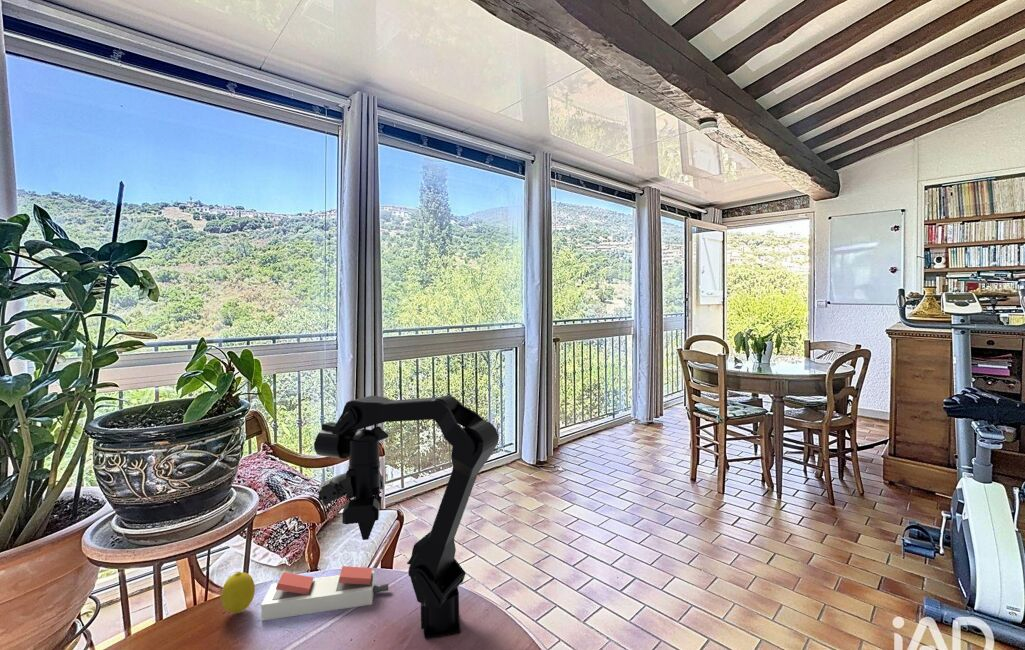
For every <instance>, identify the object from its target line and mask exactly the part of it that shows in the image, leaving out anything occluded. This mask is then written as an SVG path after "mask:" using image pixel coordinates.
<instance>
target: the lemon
mask: <svg viewBox="0 0 1025 650" xmlns="http://www.w3.org/2000/svg"><path fill="white" fill-rule="evenodd" d="M255 591H256V585H255V582H254V580H253V577H252V575H250V574H249V573H247V572H243V571H242V572H241V571H237V572H236V573H234V574H232V575H231V576H229V578H227V579H226V581H225V582H224V585H223V586H222V589H221V598H220V600H221V604H222V607H223V608H224V610H225V611H227V612H228V613H232V614H234V613H235V614H237V615H239V614H241V613H242V612H243V611H245V610H246V609H247V608H248V607H249V606H250V605H251V603H252V601H253V599H254V598H255V597H254V596H255Z"/></svg>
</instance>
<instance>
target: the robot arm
mask: <svg viewBox="0 0 1025 650" xmlns="http://www.w3.org/2000/svg"><path fill="white" fill-rule="evenodd" d="M432 420H433V421H434V422H436V424H437V425H438V427H439V429H440V431H441V434H442V436H443V438H444V439H445V440H446V441H447V442H448V443H449V444H450V445H451V446H452V447H451V453H450V457H451V458H450V459H451V463H452V470H451V473H450V476H449V478H448V479H449V480H448V481H447V484H446V487H445V490H444V493H443V496H442V499H441V501H440V505H439V507H438V510H437V512H436V513H437V514H436V515H435V519H434V521H433V524H432V527H431V530H430V531H429V532H428V533H427V534H426V535H424V536H423V537H422V538H421V539H419V540H418V541H417V542H415V543H414V544H413V547H412V552H411V556H410V558H409V560H408V561H406V562H407V563H406V565H408V571H407V572H408V577H410V581H411V584H412V588H413V590H414V595H415V597H416V601H417V602H418V603H420V629H421V630H423V638H424V639H426V640H427V639H433V638H440V637H445V636H452V635H458V634H460V633H461V632H462V628H461V621H460V592H459V586H460V585H461V584H463V582H464V580H465V576H466V571H465V570H464V568H462V566H461V565H460V563H458V561H457V560H456V558H455V556H456V551H457V549H456V544H455V538H456V534H457V532H458V530H459V526H460V523H461V521H462V518H463V516H464V513H465V510H466V507H467V505H468V501H469V499H470V497H471V493H472V491H473V488H474V485H475V483H476V480H477V477H478V475H479V472H480V471H481V470H482V468H483V467H484V466H485V464H486V463H487V462H488V460H489V459H490V457H491V456H492V454H493V453H494V451H495V449H496V447H497V445H498V444H499V439H500V434H499V433H498V431H497V428H496V427H495V426H494V424H492V423H491V422H490V421H487V420H485V419H484V418H483V417H482V416H481V415H480V414H478V413H477V412H476V411H474V410H472V409H470V408H468V407H467V406H465V405H463V404H462V403H461V402H460V401H459V400H458V399H457V398H456V397H454V396H452V395H443V396H438V397H424V398H409V399H395V400H394V399H389V398H387V397H385V396H378V395H369V396H365V397H360V398H356V399H352V400H349V401H347V402H346V403H345V405H344V407H343V411H342V413H341V415H340V416H339V418H338V420H337V422H333V421H332V422H331V421H329V422H325V423H322V424H321V430H320V431H319V432H318V434H317V435H316V438H315V441H314V442H313V447H314V452H315V453H316V454H317V455H318V456H321V457H328V458H334V459H335V458H336V459H341V460H345V459H347V458H348V469H347V470H346V472H344V473H342V474H339V475H337V476H334V477H332V478H329V479H327V480H325V481H323V482H320V484H319V486H318V488H317V490H316V491H317V494H318V498H317V500H319V501H321V503H322V505H323V506H327V505H328V504H330V503H331V502H333V501H336V500H338V499H340V498H342V497H344V496H346V499H351V500H349V501H348V502H347V503H346V504H345V505H344V507H343V510H342V515H341V519H342V520H341V522H342V524H343V525H352V524H353V525H354V524H357V525H358V528H359V529H358V530H359V533H360V536H361V538H362V540H363V541H367V540H369V539H370V536H371V535H372V531H373V528H374V526H375V523H376V521H378V520H379V519H380V512H381V511H380V510H381V506H382V505H381V504H382V499H383V498H382V496H380V491H381V490H384V485H385V484H384V476H383V474H381V473H380V469H381V460H380V441H382V440H385V439H387V438H388V437H389V434H388V433H387V432H386V431H385V430H384V429H382V427H381V426H379V424H383V423H387V422H389V423H390V422H407V421H408V422H410V421H411V422H413V421H414V422H415V421H432ZM375 425H378V426H377V427H373V428H371V429H365V428H368V427H372V426H375ZM463 427H464V428H463ZM357 430H358V431H357Z"/></svg>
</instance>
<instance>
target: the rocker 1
mask: <svg viewBox="0 0 1025 650" xmlns="http://www.w3.org/2000/svg"><path fill="white" fill-rule="evenodd" d="M313 578H314V577H312V576H306V575H301V574H296V573H290V572H286V571H285V572H282V574H281V576H280V578H279V580H278V582H277V583H278V584H277V587H276V590H282V591H288V592H294V593H299V594H308V592H309V590H310V587H311V584H312V581H313Z"/></svg>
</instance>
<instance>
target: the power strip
mask: <svg viewBox="0 0 1025 650" xmlns="http://www.w3.org/2000/svg"><path fill="white" fill-rule="evenodd" d="M339 578H340V574H337V575H329V576H322V577H315V578H314V577H313V581H312V584H311V587H310V590H309V592H308V594H299V593H294V592H288V591H282V590H276V587H277V584H278V582H276V583H275V582H274V583H271V584H270V587H269V588H268V591H267V593H266V595H265V597H264V598H263V600H262V602H261V604H260V608H261V609H260V610H261V620H260V621H262V622H263V621H267V620H276V619H281V618H288V617H294V616H295V617H296V616H303V615H309V614H316V613H323V612H329V611H337V610H344V609H351V608H356V607H357V608H358V607H364V606H370V605H373V599H374V594H375V593H380V592H388V591H389V583H384V584H377V585H375V570H372V573H371V579H370V584H369V585H366V584H350V583H339Z"/></svg>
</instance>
